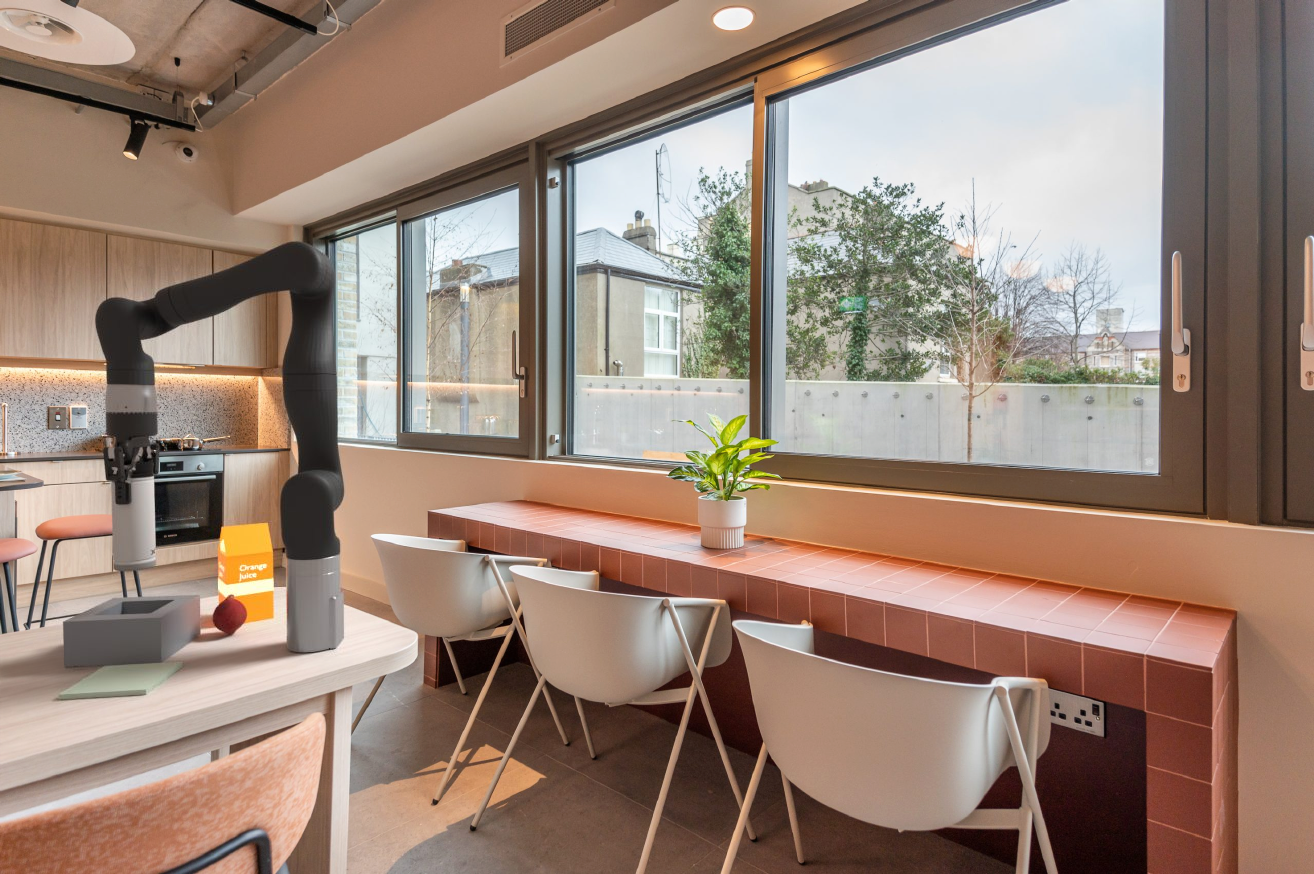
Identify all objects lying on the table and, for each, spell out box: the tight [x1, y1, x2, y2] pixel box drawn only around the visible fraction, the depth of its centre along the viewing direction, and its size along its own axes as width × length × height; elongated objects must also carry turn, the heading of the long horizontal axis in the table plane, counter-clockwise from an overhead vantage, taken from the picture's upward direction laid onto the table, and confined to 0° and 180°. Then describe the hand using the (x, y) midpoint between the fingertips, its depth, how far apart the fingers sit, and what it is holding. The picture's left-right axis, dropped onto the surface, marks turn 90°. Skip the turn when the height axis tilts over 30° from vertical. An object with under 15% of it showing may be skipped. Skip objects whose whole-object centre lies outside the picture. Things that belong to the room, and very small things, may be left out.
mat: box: [57, 661, 184, 700], centre depth 113 cm, size 12×12×1 cm
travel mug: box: [110, 458, 157, 572], centre depth 127 cm, size 6×7×20 cm
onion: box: [212, 594, 247, 635], centre depth 137 cm, size 6×6×8 cm
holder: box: [62, 594, 201, 668], centre depth 128 cm, size 15×15×8 cm
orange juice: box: [217, 522, 275, 624], centre depth 147 cm, size 8×9×20 cm
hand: (134, 501), depth 127 cm, fingers closed on travel mug, 6 cm apart
